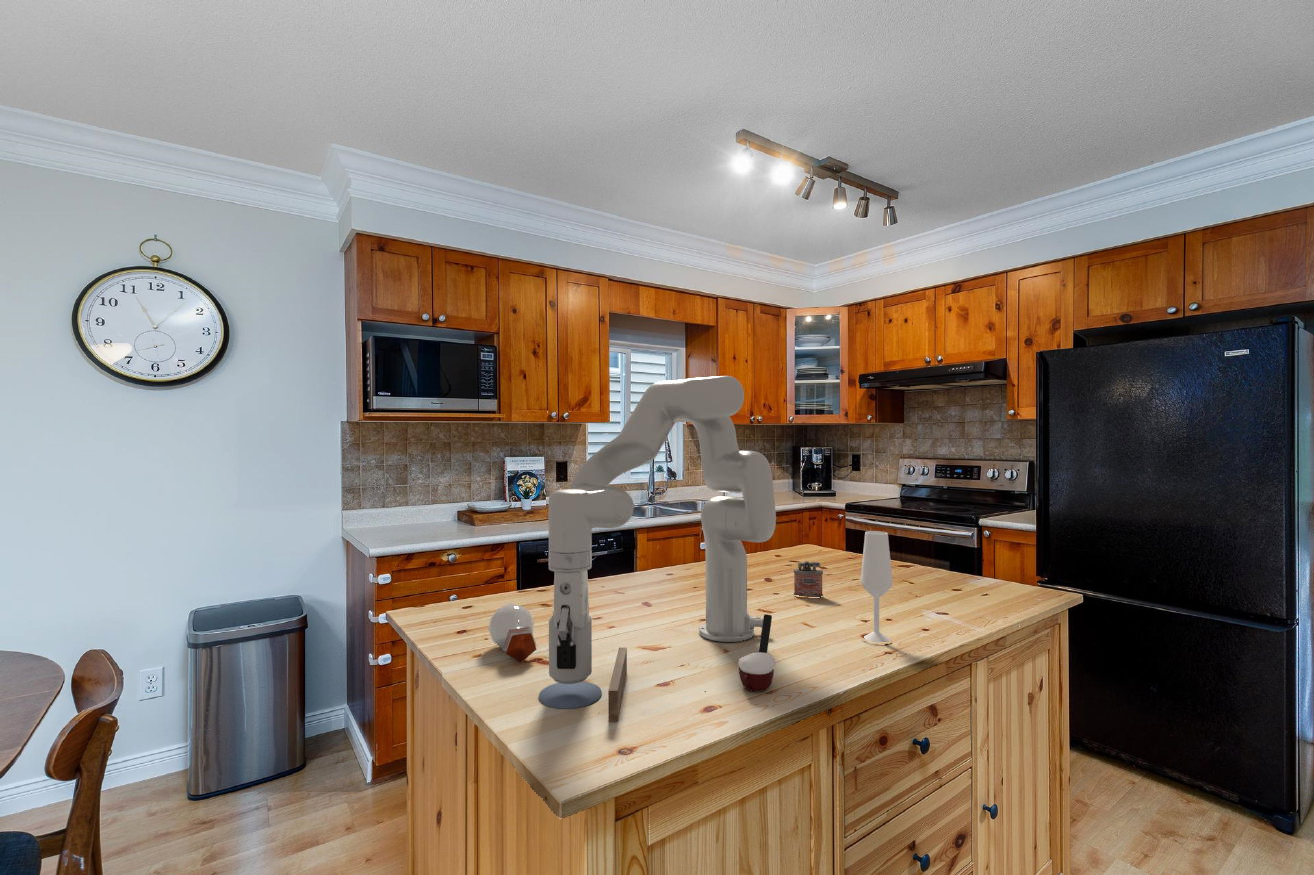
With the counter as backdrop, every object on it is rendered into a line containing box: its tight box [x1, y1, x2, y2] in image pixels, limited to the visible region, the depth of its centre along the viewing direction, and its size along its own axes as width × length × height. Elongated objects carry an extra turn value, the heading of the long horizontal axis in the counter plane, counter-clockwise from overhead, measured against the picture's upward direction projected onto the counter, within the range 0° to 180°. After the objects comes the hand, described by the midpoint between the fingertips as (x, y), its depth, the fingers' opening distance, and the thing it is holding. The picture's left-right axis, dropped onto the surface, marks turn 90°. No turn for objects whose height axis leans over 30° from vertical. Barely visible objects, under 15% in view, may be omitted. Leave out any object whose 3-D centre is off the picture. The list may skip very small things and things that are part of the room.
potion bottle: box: [488, 603, 537, 663], centre depth 132 cm, size 9×10×15 cm
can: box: [548, 609, 593, 684], centre depth 109 cm, size 8×8×12 cm
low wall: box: [607, 647, 628, 723], centre depth 109 cm, size 2×20×5 cm, turn 178°
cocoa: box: [737, 613, 776, 692], centre depth 113 cm, size 10×6×12 cm, turn 122°
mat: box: [538, 680, 603, 710], centre depth 109 cm, size 11×11×1 cm
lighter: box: [793, 560, 824, 597], centre depth 175 cm, size 8×3×10 cm, turn 80°
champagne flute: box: [860, 530, 894, 642], centre depth 138 cm, size 7×7×24 cm
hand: (570, 659), depth 109 cm, fingers closed on can, 7 cm apart
